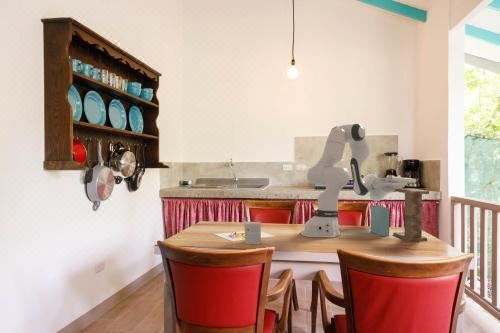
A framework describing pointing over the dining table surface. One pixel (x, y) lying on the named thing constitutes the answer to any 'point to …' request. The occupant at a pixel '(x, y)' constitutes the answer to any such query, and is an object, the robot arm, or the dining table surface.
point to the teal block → (380, 220)
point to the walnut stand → (412, 215)
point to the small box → (252, 232)
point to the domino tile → (403, 179)
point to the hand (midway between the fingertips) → (395, 176)
